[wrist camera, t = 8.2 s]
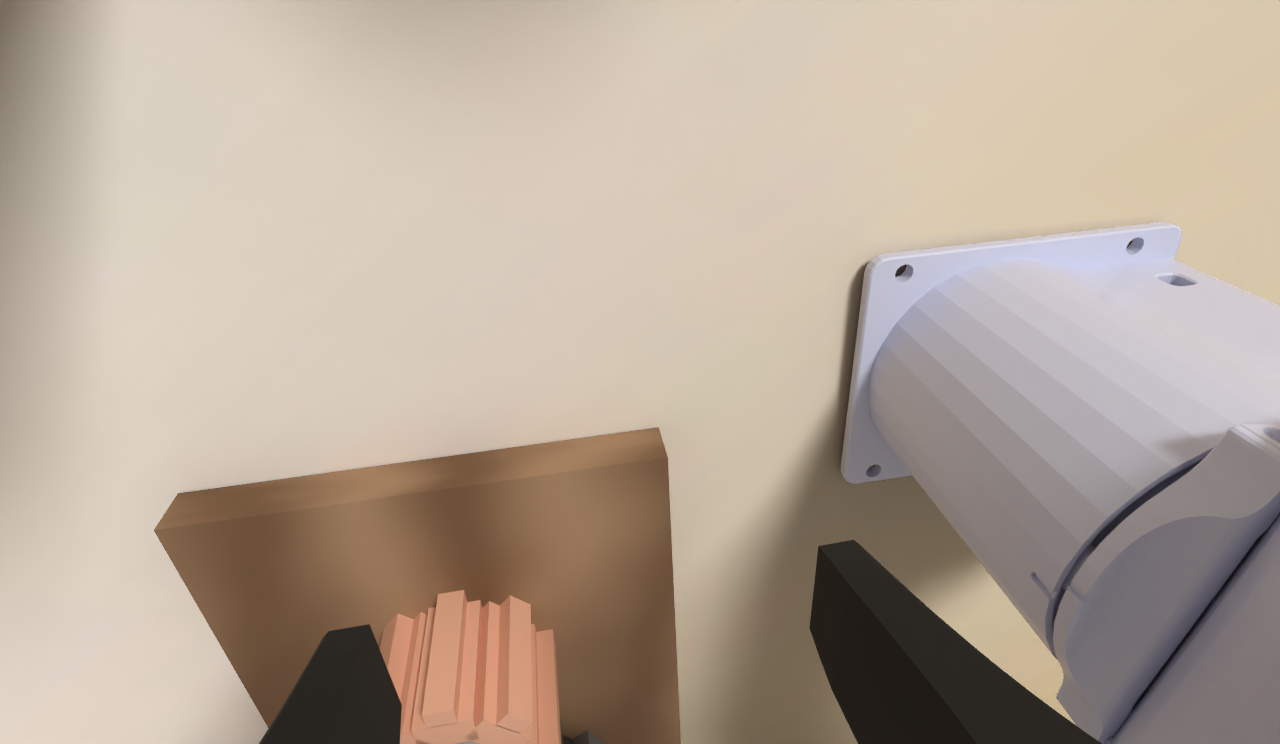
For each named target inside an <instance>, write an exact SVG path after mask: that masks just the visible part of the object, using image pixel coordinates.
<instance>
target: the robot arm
mask: <svg viewBox="0 0 1280 744" xmlns="http://www.w3.org/2000/svg"><path fill="white" fill-rule="evenodd" d="M1181 237H1182V231H1181V229H1180V228H1179V227H1178V226H1177V225H1174V224H1171V223H1169V222H1157V223H1148V224H1139V225H1131V226H1122V227H1113V228H1104V229H1096V230H1087V231H1078V232H1069V233H1061V234H1052V235H1043V236H1035V237H1026V238H1017V239H1008V240H1000V241H991V242H982V243H974V244H965V245H956V246H947V247H939V248H930V249H921V250H912V251H904V252H895V253H886V254H881V255H878V256H876V257H875V258H873V259H872V260H871V261H870V262H869V263H868V265H867V266H866V269H865V272H864V280H863V288H862V296H861V304H860V313H859V321H858V329H857V337H856V345H855V354H854V362H853V370H852V378H851V386H850V395H849V403H848V411H847V419H846V427H845V436H844V444H843V452H842V460H841V468H840V469H841V474H842V475H843V477H844V478H845V480H846V481H847V482H848V483H851V484H860V483H866V482H873V481H880V480H886V479H893V478H900V477H906V476H913V477H914V479H915V480H916V481H917V482H918V484H919V485H920V486H921V487H922V489H923V490H924V491H925V493H926V494H927V495H928V496H929V498H930V499H931V500H932V502H933V503H934V504H935V505H936V507H937V508H938V509H939V510H940V512H941V513H942V514H943V516H944V517H945V518H946V519H947V521H948V522H949V523H950V524H951V526H952V527H953V528H954V530H955V531H956V532H957V533H958V535H959V536H960V537H961V538H962V540H963V541H964V542H965V544H966V545H967V546H968V547H969V549H970V550H971V551H972V553H973V554H974V555H975V556H976V558H977V559H978V560H979V561H980V563H981V564H982V565H983V567H984V568H985V569H986V570H987V572H988V573H989V574H990V575H991V577H992V578H993V579H994V581H995V582H996V583H997V584H998V586H999V587H1000V588H1001V589H1002V591H1003V592H1004V593H1005V595H1006V596H1007V597H1008V598H1009V600H1010V601H1011V602H1012V604H1013V605H1014V606H1015V607H1016V609H1017V610H1018V611H1019V612H1020V614H1021V615H1022V616H1023V618H1024V619H1025V620H1026V621H1027V623H1028V624H1029V625H1030V626H1031V628H1032V629H1033V630H1034V632H1035V633H1036V634H1037V635H1038V637H1039V638H1040V639H1041V640H1042V642H1043V643H1044V644H1045V646H1046V647H1047V648H1048V649H1049V651H1050V652H1051V653H1052V654H1053V656H1054V657H1055V658H1056V659H1057V660H1058V661H1059V663H1060V665H1061V667H1062V669H1063V673H1064V679H1063V683H1062V686H1061V687H1060V689H1059V691H1058V693H1057V697H1056V698H1057V700H1058V701H1059V702H1060V704H1061V705H1062V706H1063V708H1064V709H1065V710H1066V712H1067V713H1068V714H1069V716H1070V717H1071V718H1072V720H1073V721H1074V722H1075V724H1076V725H1077V726H1078V727H1077V726H1076V725H1075V724H1073V723H1072V722H1070V721H1069V720H1067V719H1066V718H1065V717H1063V716H1062V715H1061V714H1059V713H1058V712H1057V711H1055V710H1054V709H1052V708H1051V707H1050V706H1048V705H1047V704H1046V703H1044V702H1043V701H1042V700H1040V699H1039V698H1038V697H1036V696H1035V695H1034V694H1032V693H1031V692H1030V691H1028V690H1027V689H1026V688H1025V687H1023V686H1022V685H1021V684H1020V683H1018V682H1017V681H1016V680H1014V679H1013V678H1012V677H1011V676H1009V675H1008V674H1007V673H1005V672H1004V671H1003V670H1002V669H1000V668H999V667H998V666H997V665H995V664H994V663H993V662H992V661H990V660H989V659H988V658H987V657H986V656H984V655H983V654H982V653H981V652H979V651H978V650H977V649H976V648H975V647H973V646H972V645H971V644H970V643H969V642H968V641H966V640H965V639H964V638H963V637H962V636H961V635H959V634H958V633H957V632H956V631H955V630H954V629H952V628H951V627H950V626H949V625H948V624H946V623H945V622H944V621H943V620H942V619H941V618H939V617H938V616H937V615H936V614H935V613H934V612H933V611H932V610H930V609H929V608H928V607H927V606H926V605H925V604H924V603H923V602H921V601H920V600H919V599H918V598H917V597H916V596H915V595H914V594H913V593H911V592H910V591H909V590H908V589H907V588H906V587H905V586H904V585H903V584H902V583H900V582H899V581H898V580H897V579H896V578H895V577H894V576H893V575H892V574H891V573H890V572H888V571H887V570H886V569H885V568H884V567H883V566H882V565H881V564H880V563H879V562H878V561H877V560H876V559H875V558H873V557H872V556H871V555H870V554H869V553H868V552H867V551H866V550H865V549H864V548H863V547H862V546H860V545H859V544H858V543H857V542H856V541H854V540H851V541H845V542H839V543H834V544H828V545H822V546H819V547H818V556H817V566H816V575H815V584H814V593H813V602H812V611H811V620H810V631H811V633H812V636H813V639H814V642H815V645H816V648H817V651H818V653H819V656H820V659H821V662H822V665H823V667H824V670H825V673H826V675H827V678H828V681H829V683H830V686H831V689H832V691H833V693H834V695H835V697H836V699H837V701H838V703H839V705H840V707H841V709H842V712H843V714H844V716H845V718H846V720H847V722H848V724H849V726H850V728H851V730H852V732H853V734H854V736H855V738H856V740H857V742H858V744H1280V306H1279V305H1277V304H1275V303H1272V302H1270V301H1268V300H1265V299H1263V298H1261V297H1259V296H1256V295H1254V294H1252V293H1249V292H1247V291H1245V290H1242V289H1240V288H1238V287H1236V286H1233V285H1231V284H1229V283H1226V282H1224V281H1222V280H1219V279H1217V278H1215V277H1213V276H1210V275H1208V274H1206V273H1203V272H1201V271H1199V270H1196V269H1194V268H1192V267H1190V266H1187V265H1185V264H1183V263H1180V262H1178V261H1176V260H1174V258H1175V255H1176V253H1177V250H1178V247H1179V244H1180V242H1181ZM1132 240H1133V241H1132ZM1130 241H1132V243H1131V245H1130V246H1129V247H1127V246H1128V244H1129V242H1130ZM905 264H906V269H905V272H904V273H903V274H902V275H900V276H897V277H895V273H896V271H897V269H898V268H899V267H900V266H902V265H905ZM872 465H875V466H874V467H873V468H871V469H868V468H869V467H870V466H872ZM867 469H868V470H867ZM401 710H402V704H401V702H400V699H399V697H398V694H397V692H396V689H395V687H394V684H393V682H392V679H391V677H390V674H389V672H388V669H387V667H386V664H385V662H384V659H383V657H382V654H381V652H380V649H379V647H378V644H377V642H376V639H375V637H374V634H373V631H372V629H371V626H370V624H367V625H361V626H355V627H350V628H344V629H338V630H332V631H328V632H327V633H326V635H325V636H324V637H323V638H322V640H321V642H320V643H319V645H318V647H317V649H316V650H315V652H314V654H313V655H312V657H311V659H310V661H309V662H308V664H307V666H306V667H305V669H304V671H303V673H302V674H301V676H300V678H299V679H298V681H297V683H296V684H295V686H294V688H293V689H292V691H291V693H290V694H289V696H288V698H287V699H286V701H285V703H284V704H283V706H282V708H281V709H280V711H279V713H278V714H277V716H276V718H275V719H274V721H273V722H272V724H271V726H270V727H269V729H268V731H267V732H266V734H265V735H264V737H263V738H262V740H261V742H260V743H259V744H400V729H401Z"/></svg>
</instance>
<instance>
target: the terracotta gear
mask: <svg viewBox="0 0 1280 744" xmlns="http://www.w3.org/2000/svg"><path fill="white" fill-rule="evenodd" d="M380 652H381V654H382V657H383V659H384V662H385V664H386V667H387V669H388V672H389V674H390V677H391V679H392V682H393V684H394V687H395V689H396V692H397V694H398V697H399V699H400V702H401V704H402V710H401V729H400V744H455V743H460V742H466V741H473V742H476V743H479V744H561V731H560V712H559V694H558V675H557V657H556V643H555V638H554V632H553V629H551V630H545V631H539V632H536V628H535V624H531V605H530V604H528V603H526V602H524V601H522V600H519V599H517V598H515V597H513V596H511V595H510V596H509V597H508V598H507V599H506V600H505V601H504V602H503V603H502V604H501V605H500V606H499V605H497V604H495V603H493V602H490V601H489V602H488V603H487V604H486V605H485V606H484V607H483V608H482V605H481V601H480V600H477V601H471V602H467V599H466V595H465V591H464V590H461V591H454V592H448V593H442V594H438V597H437V604H436V607H433V608H428V615H427V614H425V613H422V612H420V613H419V614H418V615H417V616H416V617H415V619H411V618H409V617H406V616H404V615H401V614H399V613H398V614H397V615H396V616H395V617H394V618H393V619H392V620H391V621H390V622H389V623H388V624H387V625H386V626H385V628H384V630H383V635H382V640H381V644H380Z"/></svg>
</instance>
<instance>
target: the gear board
mask: <svg viewBox="0 0 1280 744" xmlns="http://www.w3.org/2000/svg"><path fill="white" fill-rule="evenodd" d="M154 531H155V533H156V535H157V536H158V538H159V540H160V542H161V543H162V545H163V547H164V548H165V550H166V552H167V554H168V555H169V557H170V559H171V560H172V562H173V564H174V566H175V567H176V569H177V571H178V573H179V574H180V576H181V578H182V579H183V581H184V583H185V585H186V586H187V588H188V590H189V592H190V593H191V595H192V597H193V598H194V600H195V602H196V604H197V605H198V607H199V609H200V611H201V612H202V614H203V616H204V617H205V619H206V621H207V623H208V624H209V626H210V628H211V629H212V631H213V633H214V635H215V636H216V638H217V640H218V642H219V643H220V645H221V647H222V648H223V650H224V652H225V654H226V655H227V657H228V659H229V661H230V662H231V664H232V666H233V667H234V669H235V671H236V673H237V674H238V676H239V678H240V679H241V681H242V683H243V685H244V686H245V688H246V690H247V692H248V693H249V695H250V697H251V698H252V700H253V702H254V704H255V705H256V707H257V709H258V711H259V712H260V714H261V716H262V717H263V719H264V721H265V723H266V724H267V726H268V728H269V727H270V726H271V724H272V722H273V721H274V719H275V718H276V716H277V714H278V713H279V711H280V709H281V708H282V706H283V704H284V703H285V701H286V699H287V698H288V696H289V694H290V693H291V691H292V689H293V688H294V686H295V684H296V683H297V681H298V679H299V678H300V676H301V674H302V673H303V671H304V669H305V667H306V666H307V664H308V662H309V661H310V659H311V657H312V655H313V654H314V652H315V650H316V649H317V647H318V645H319V643H320V642H321V640H322V638H323V637H324V636H325V635H326V633H327V632H328V631H332V630H338V629H344V628H350V627H355V626H361V625H367V624H370V626H371V629H372V631H373V634H374V637H375V639H376V642H377V644H378V647H379V649H380V644H381V640H382V635H383V630H384V628H385V626H386V625H387V624H388V623H389V622H390V621H391V620H392V619H393V618H394V617H395V616H396V615H397V614H398V613H399V614H401V615H404V616H406V617H409V618H411V619H415V617H416V616H417V615H418V614H419V613H420V612H422V613H425V614H427V615H428V608H433V607H436V604H437V597H438V594H442V593H448V592H454V591H461V590H464V591H465V595H466V599H467V602H471V601H477V600H480V601H481V605H482V608H483V607H484V606H485V605H486V604H487V603H488V602H489V601H490V602H493V603H495V604H497V605H499V606H500V605H501V604H502V603H503V602H504V601H505V600H506V599H507V598H508V597H509V596H510V595H511V596H513V597H515V598H517V599H519V600H522V601H524V602H526V603H528V604H530V605H531V624H535V628H536V632H539V631H545V630H551V629H553V632H554V638H555V643H556V657H557V675H558V694H559V712H560V731H561V744H681V741H680V719H679V697H678V675H677V653H676V631H675V609H674V587H673V565H672V543H671V521H670V499H669V477H668V457H667V454H666V450H665V447H664V444H663V441H662V437H661V434H660V431H659V428H652V429H645V430H637V431H630V432H623V433H616V434H608V435H601V436H594V437H586V438H579V439H572V440H565V441H557V442H550V443H543V444H535V445H528V446H521V447H514V448H506V449H499V450H492V451H484V452H477V453H470V454H463V455H455V456H448V457H441V458H433V459H426V460H419V461H412V462H404V463H397V464H390V465H383V466H375V467H368V468H361V469H353V470H346V471H339V472H332V473H324V474H317V475H310V476H302V477H295V478H288V479H281V480H273V481H266V482H259V483H251V484H244V485H237V486H230V487H222V488H215V489H208V490H200V491H193V492H186V493H179V494H177V496H176V497H175V499H174V501H173V502H172V504H171V505H170V507H169V508H168V510H167V511H166V513H165V514H164V516H163V517H162V519H161V520H160V522H159V523H158V525H157V526H156V528H155V529H154ZM455 744H479V743H476V742H473V741H466V742H460V743H455Z"/></svg>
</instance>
